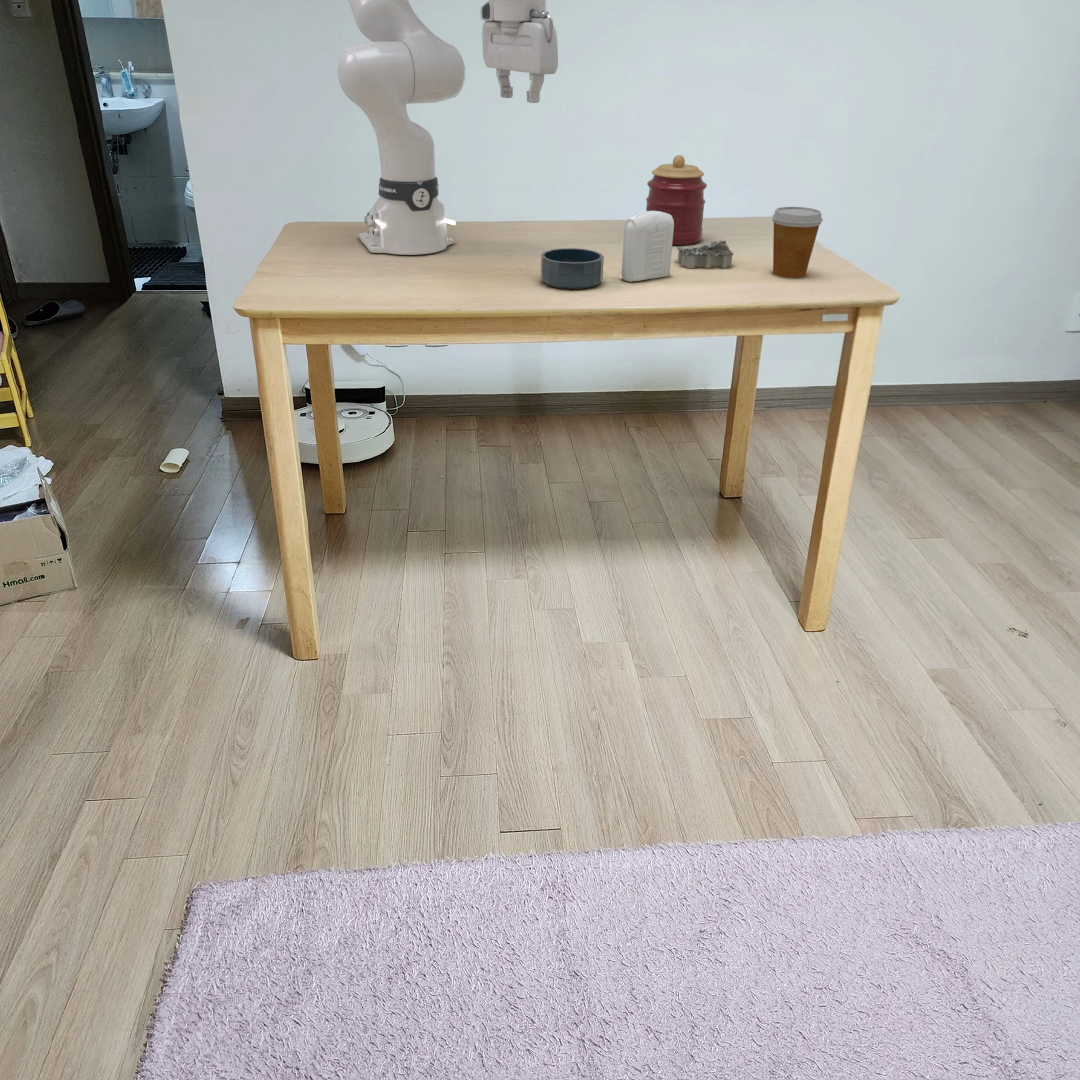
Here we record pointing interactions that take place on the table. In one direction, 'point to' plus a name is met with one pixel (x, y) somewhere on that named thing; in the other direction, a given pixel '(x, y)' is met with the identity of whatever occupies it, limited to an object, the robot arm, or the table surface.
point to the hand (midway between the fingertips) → (519, 100)
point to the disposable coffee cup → (794, 239)
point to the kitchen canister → (679, 198)
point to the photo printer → (647, 246)
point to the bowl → (572, 268)
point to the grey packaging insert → (706, 255)
